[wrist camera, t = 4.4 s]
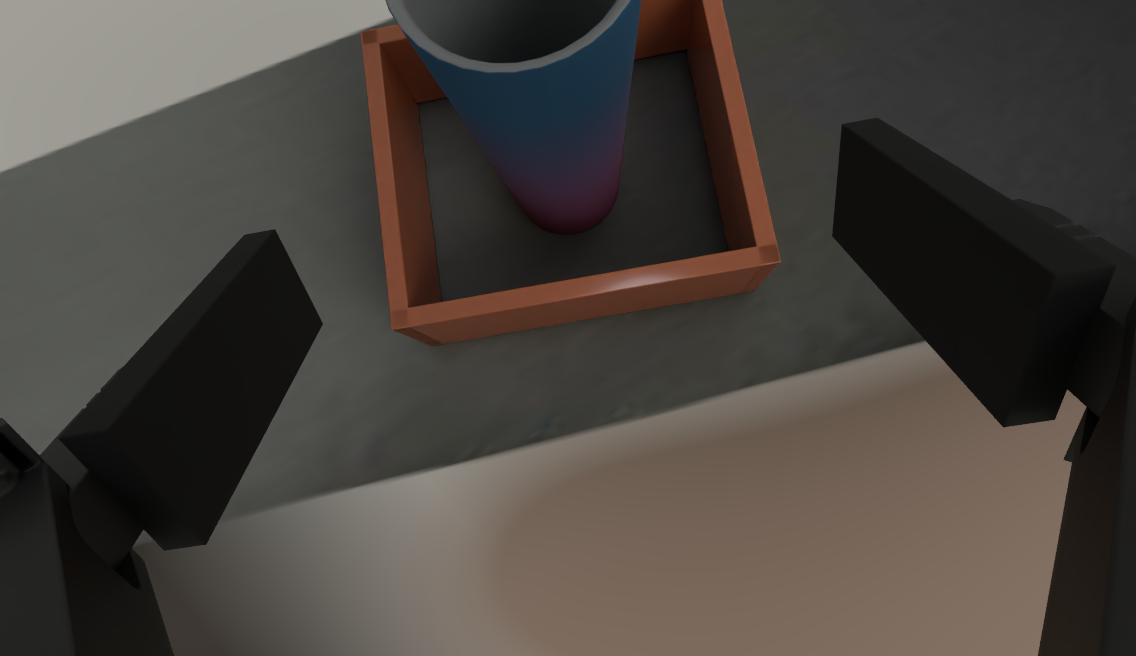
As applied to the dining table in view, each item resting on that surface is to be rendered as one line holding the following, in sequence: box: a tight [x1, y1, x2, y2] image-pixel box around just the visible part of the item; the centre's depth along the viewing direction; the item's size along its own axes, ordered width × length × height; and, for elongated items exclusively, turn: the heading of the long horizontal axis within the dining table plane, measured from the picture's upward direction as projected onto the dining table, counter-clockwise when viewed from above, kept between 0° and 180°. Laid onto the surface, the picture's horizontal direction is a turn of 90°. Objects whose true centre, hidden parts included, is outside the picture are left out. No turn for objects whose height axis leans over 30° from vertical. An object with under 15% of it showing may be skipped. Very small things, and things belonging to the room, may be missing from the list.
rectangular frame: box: [361, 0, 781, 346], centre depth 27 cm, size 16×14×5 cm
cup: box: [386, 0, 641, 234], centre depth 22 cm, size 7×7×15 cm
